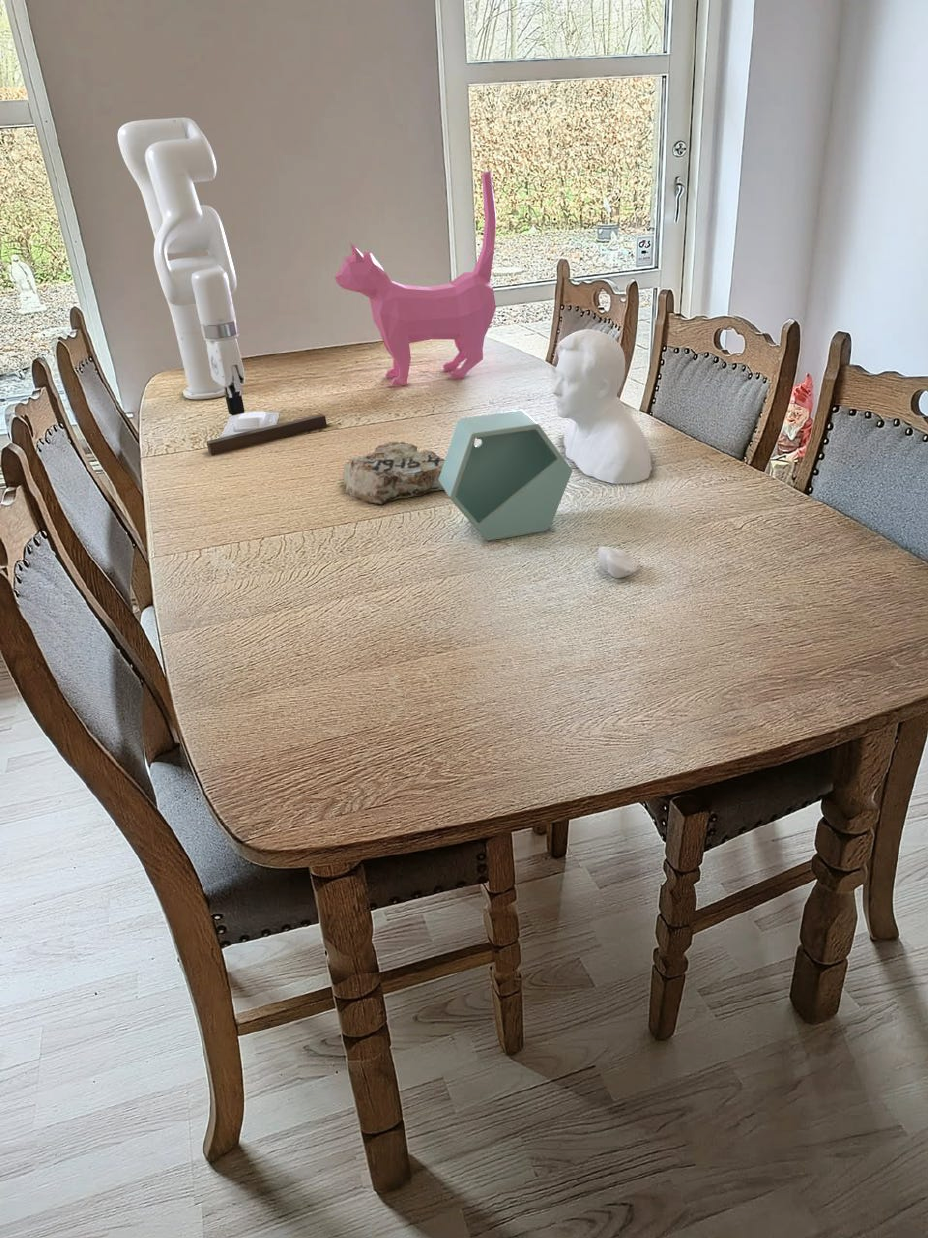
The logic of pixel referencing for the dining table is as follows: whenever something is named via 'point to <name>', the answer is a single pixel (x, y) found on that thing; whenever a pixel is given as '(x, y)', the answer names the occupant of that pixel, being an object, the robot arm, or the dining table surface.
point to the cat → (429, 304)
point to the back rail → (266, 434)
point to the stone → (393, 473)
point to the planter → (504, 474)
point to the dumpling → (616, 562)
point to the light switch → (249, 422)
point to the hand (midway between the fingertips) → (237, 413)
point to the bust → (598, 410)
